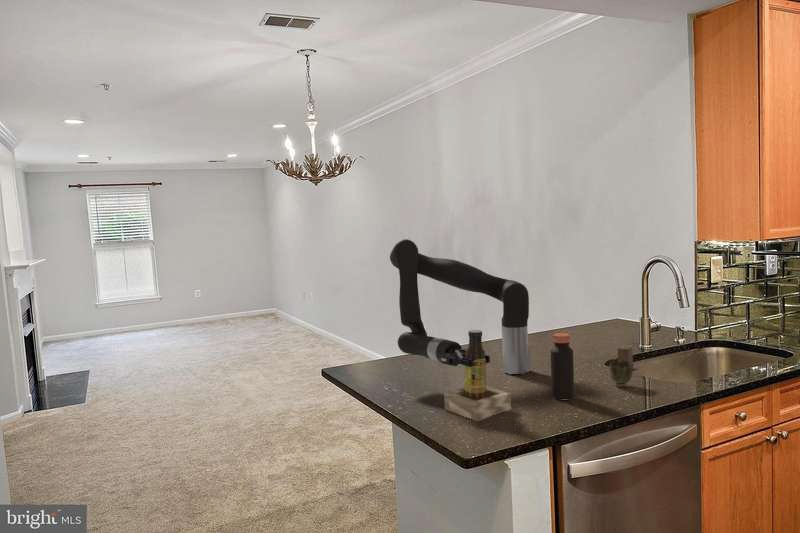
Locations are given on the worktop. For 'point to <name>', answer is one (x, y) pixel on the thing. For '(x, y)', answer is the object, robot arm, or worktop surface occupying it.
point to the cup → (621, 372)
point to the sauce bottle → (475, 366)
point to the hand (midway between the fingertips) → (480, 361)
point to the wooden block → (625, 354)
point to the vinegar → (562, 367)
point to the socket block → (477, 403)
